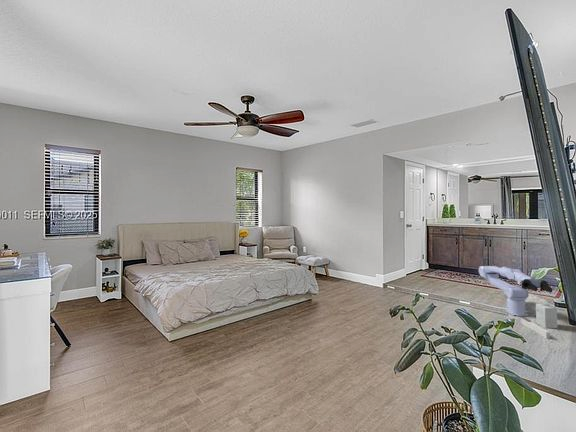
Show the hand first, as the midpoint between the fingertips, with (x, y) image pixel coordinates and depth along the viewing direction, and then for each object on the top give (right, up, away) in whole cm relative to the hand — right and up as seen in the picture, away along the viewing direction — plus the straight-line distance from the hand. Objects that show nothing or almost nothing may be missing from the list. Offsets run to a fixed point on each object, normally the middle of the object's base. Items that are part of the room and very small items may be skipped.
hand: (544, 289), depth 158 cm
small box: (+3, -20, +2) cm, 20 cm away
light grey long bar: (-8, -20, -4) cm, 22 cm away
